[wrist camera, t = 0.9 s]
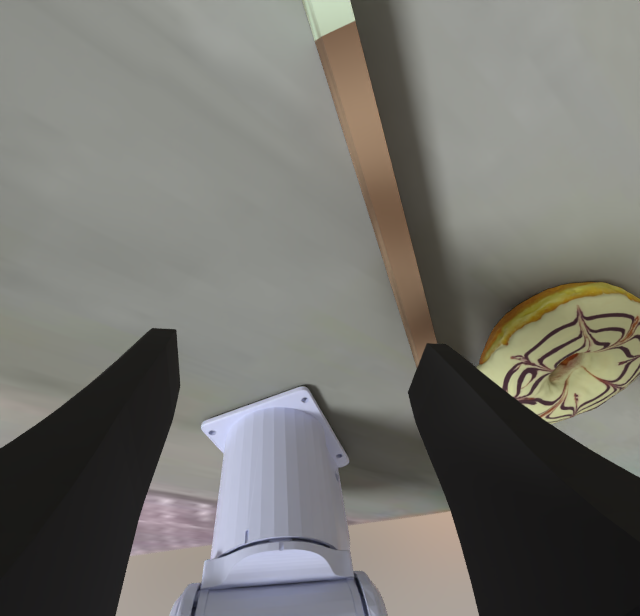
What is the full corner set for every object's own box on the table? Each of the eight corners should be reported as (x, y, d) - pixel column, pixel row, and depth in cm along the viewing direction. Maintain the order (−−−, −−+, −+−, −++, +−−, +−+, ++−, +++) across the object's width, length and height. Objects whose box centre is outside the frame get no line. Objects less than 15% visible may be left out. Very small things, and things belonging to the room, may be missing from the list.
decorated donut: (437, 377, 26) (459, 419, 23) (539, 246, 21) (586, 278, 18) (543, 407, 29) (575, 448, 26) (654, 300, 24) (711, 334, 21)
